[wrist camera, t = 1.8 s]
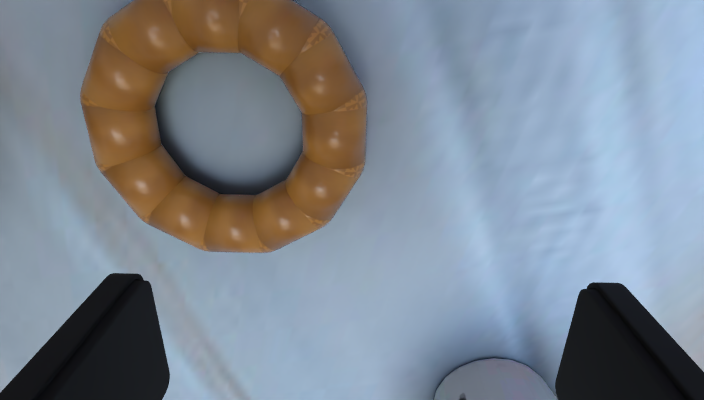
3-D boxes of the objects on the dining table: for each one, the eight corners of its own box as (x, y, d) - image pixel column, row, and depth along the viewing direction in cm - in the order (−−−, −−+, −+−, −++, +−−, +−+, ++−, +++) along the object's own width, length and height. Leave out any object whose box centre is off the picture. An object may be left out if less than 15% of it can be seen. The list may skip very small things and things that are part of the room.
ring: (77, -25, 20) (32, -29, 17) (369, -21, 20) (371, -23, 17) (133, 232, 25) (105, 260, 22) (362, 236, 25) (362, 266, 22)
